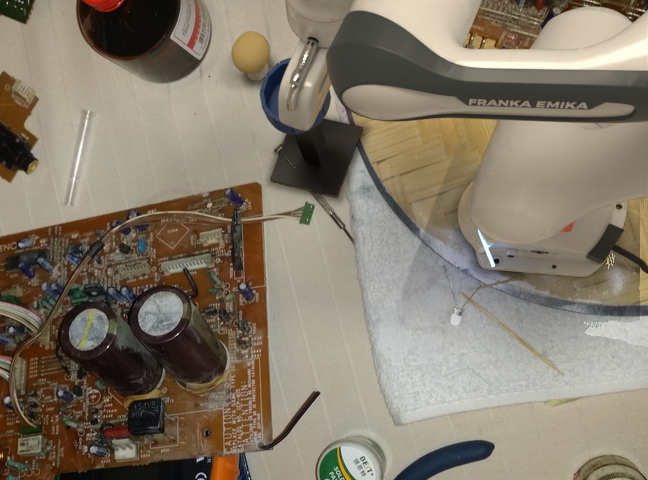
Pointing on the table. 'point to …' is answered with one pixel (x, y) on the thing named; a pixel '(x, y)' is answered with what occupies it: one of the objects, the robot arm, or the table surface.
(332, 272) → the table surface
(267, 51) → the light bulb
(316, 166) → the stand
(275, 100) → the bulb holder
